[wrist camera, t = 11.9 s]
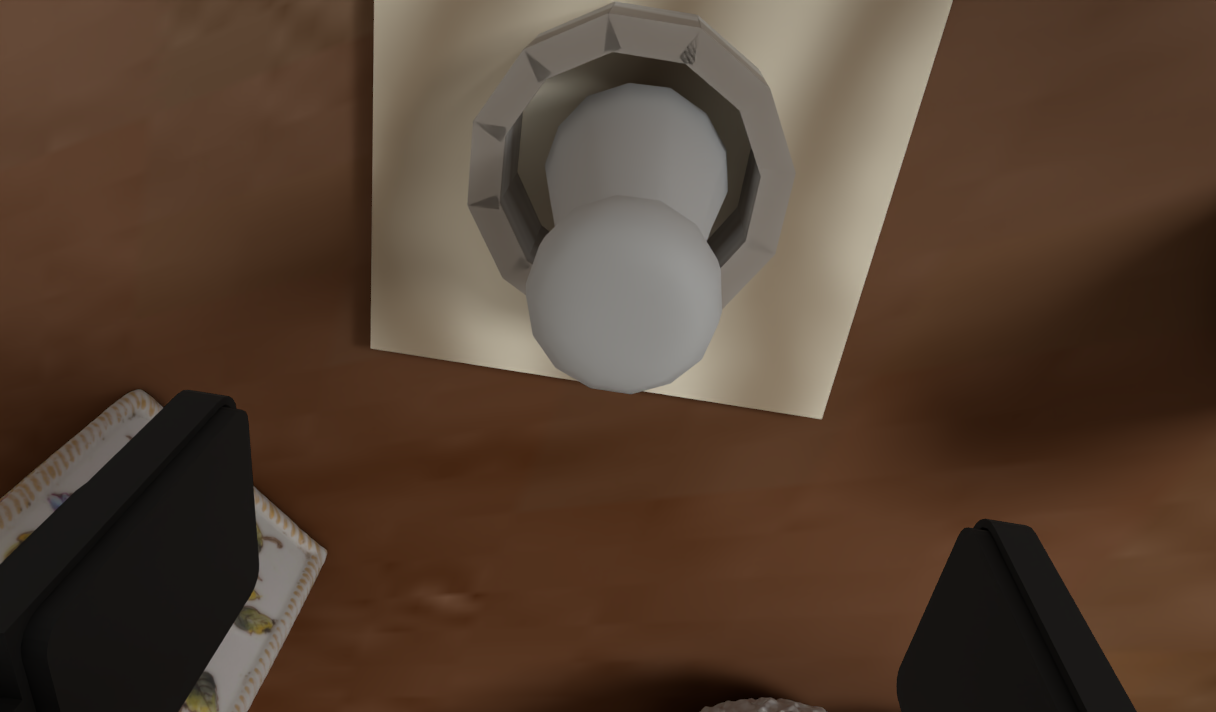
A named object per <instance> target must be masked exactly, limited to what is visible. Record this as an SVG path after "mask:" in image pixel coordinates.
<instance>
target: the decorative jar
mask: <svg viewBox="0 0 1216 712" xmlns="http://www.w3.org/2000/svg"><path fill="white" fill-rule="evenodd" d="M163 408H164V407H162V406H161V405H160V404H159V403H158V402H157V401H156V400H155V399H154V398H153V397H151V396H150V395H148V394H147V393H146V392H145V391H143V390H140V389H137V390H134V391H131V392H129V393H127V394H126V395H124V396H123V397H122V398H121V399H119V400H117V401H116V402H115V403H114V404H113V405H111V406H110V407H109V408H107V409H106V410H105V411H104V412H103V413H102V414H101V415H99V416H98V417H97V418H96V419H95V420H94V421H92V422H90V423H89V425H88V426H86V427H85V428H84V429H83V430H82V431H80V432H79V433H78V434H77V435H76V436H74V437H73V438H72V439H70V440H69V441H68V442H67V443H66V444H65V445H64V446H62V447H61V448H60V449H59V450H57V451H56V452H54V453H53V454H52V455H51V456H50V457H49V458H48V459H47V460H45V461H44V462H43V463H42V464H41V465H39V466H38V467H37V468H36V469H35V470H33V471H32V472H31V473H30V474H29V475H28V476H27V477H26V478H24V479H23V480H22V481H21V482H20V483H18V484H17V485H16V486H15V487H14V488H13V489H12V490H10V491H9V492H8V493H6V494H5V495H4V496H3V497H2V498H1V499H0V564H1V563H2V562H3V561H4V560H5V559H6V558H7V557H8V556H9V555H10V554H11V553H12V552H13V551H14V550H15V549H16V548H17V547H18V546H19V545H20V544H21V543H22V542H23V541H24V540H25V539H26V538H27V537H28V536H30V535H31V534H32V533H33V532H34V531H35V530H36V529H37V528H38V527H39V526H40V525H41V524H42V523H43V522H44V521H45V520H46V519H47V518H48V517H49V516H50V515H51V514H52V513H53V512H54V511H55V510H56V509H57V508H58V507H59V506H60V505H61V504H62V503H63V502H65V501H66V500H67V499H68V498H69V497H70V496H71V495H72V494H73V493H74V492H75V491H76V490H77V489H78V488H80V487H81V486H83V485H84V484H85V483H87V482H88V481H89V480H90V479H91V478H92V477H93V476H94V475H95V474H96V473H97V472H98V471H99V470H100V469H101V468H102V467H103V466H104V465H105V464H106V463H107V462H108V461H109V460H110V459H111V458H112V457H113V456H114V455H115V454H116V453H118V452H119V451H120V450H121V449H122V448H123V447H124V446H125V445H126V444H127V443H128V442H129V441H130V440H131V439H132V438H133V437H134V436H135V435H136V434H137V433H138V432H139V431H140V430H141V429H142V428H143V427H144V426H145V425H146V424H147V423H148V422H149V421H150V420H151V419H152V418H153V417H154V416H155V415H156V414H157V413H159V412H160V411H161V410H162V409H163ZM253 488H254V501H255V514H256V527H257V540H258V553H259V574H258V579H257V582H256V585H255V588H254V590H253V592H252V594H251V596H250V597H249V599H248V601H247V602H246V604H245V606H244V607H243V609H242V610H241V612H240V614H239V615H238V617H237V618H236V620H235V622H234V623H233V625H232V626H231V628H230V630H229V631H228V633H227V635H226V636H225V638H224V639H223V641H222V643H221V644H220V646H219V647H218V649H217V651H216V652H215V654H214V655H213V657H212V659H211V660H210V662H209V664H208V665H207V667H206V668H205V670H204V672H203V673H202V675H201V676H200V678H199V680H198V681H197V683H196V684H195V686H194V688H193V689H192V691H191V693H190V694H189V696H188V697H187V699H186V701H185V702H184V704H183V705H182V707H181V709H180V710H179V712H247V711H248V710H249V708H250V706H251V704H252V701H253V700H254V698H255V696H256V694H257V692H258V690H259V688H260V687H261V685H262V683H263V681H264V679H265V677H266V675H267V674H268V672H269V670H270V668H271V666H272V665H273V662H274V660H275V658H276V657H277V655H278V652H279V650H280V649H281V648H282V645H283V643H284V641H285V640H286V637H287V635H288V634H289V632H290V629H291V628H292V626H293V624H294V621H295V620H296V618H297V616H298V614H299V612H300V610H301V608H302V606H303V604H304V601H305V600H306V598H307V596H308V594H309V592H310V589H311V588H312V586H313V584H314V582H315V580H316V578H317V576H318V574H319V572H320V569H321V567H322V565H323V564H324V562H325V559H326V556H327V550H326V549H325V548H323V547H322V546H320V545H319V544H318V543H317V542H316V541H314V540H313V539H312V538H310V537H309V536H308V534H307V533H305V532H304V531H302V530H301V529H300V528H299V527H298V526H297V525H296V524H295V523H294V522H293V521H292V520H291V519H290V518H289V517H288V516H287V515H285V514H284V513H283V512H282V511H281V510H279V509H278V508H277V507H276V506H275V505H274V504H273V503H272V502H271V501H269V500H268V499H267V498H266V497H265V496H264V495H263V494H262V493H261V492H259V491H258V490H257V489H256V488H255V487H254V486H253Z"/></svg>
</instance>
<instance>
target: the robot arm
mask: <svg viewBox="0 0 1216 712" xmlns="http://www.w3.org/2000/svg"><path fill="white" fill-rule="evenodd" d="M258 574H259V553H258V540H257V527H256V514H255V501H254V488H253V475H252V462H251V449H250V436H249V423H248V416H247V414H246V412H245V411H243V410H240V409H236V404H235V402H234V400H233V399H232V398H231V397H229V396H223V395H217V394H211V393H205V392H199V391H193V390H183V391H181V392H180V393H178V394H177V395H176V396H175V397H174V398H173V399H172V400H171V401H170V402H169V403H168V404H167V405H166V406H165V407H164V408H163V409H162V410H161V411H160V412H159V413H157V414H156V415H155V416H154V417H153V418H152V419H151V420H150V421H149V422H148V423H147V424H146V425H145V426H144V427H143V428H142V429H141V430H140V431H139V432H138V433H137V434H136V435H135V436H134V437H133V438H132V439H131V440H130V441H129V442H128V443H127V444H126V445H125V446H124V447H123V448H122V449H121V450H120V451H119V452H118V453H116V454H115V455H114V456H113V457H112V458H111V459H110V460H109V461H108V462H107V463H106V464H105V465H104V466H103V467H102V468H101V469H100V470H99V471H98V472H97V473H96V474H95V475H94V476H93V477H92V478H91V479H90V480H89V481H88V482H87V483H85V484H84V485H83V486H81V487H80V488H78V489H77V490H76V491H75V492H74V493H73V494H72V495H71V496H70V497H69V498H68V499H67V500H66V501H65V502H63V503H62V504H61V505H60V506H59V507H58V508H57V509H56V510H55V511H54V512H53V513H52V514H51V515H50V516H49V517H48V518H47V519H46V520H45V521H44V522H43V523H42V524H41V525H40V526H39V527H38V528H37V529H36V530H35V531H34V532H33V533H32V534H31V535H30V536H28V537H27V538H26V539H25V540H24V541H23V542H22V543H21V544H20V545H19V546H18V547H17V548H16V549H15V550H14V551H13V552H12V553H11V554H10V555H9V556H8V557H7V558H6V559H5V560H4V561H3V562H2V563H1V564H0V712H179V710H180V709H181V707H182V705H183V704H184V702H185V701H186V699H187V697H188V696H189V694H190V693H191V691H192V689H193V688H194V686H195V684H196V683H197V681H198V680H199V678H200V676H201V675H202V673H203V672H204V670H205V668H206V667H207V665H208V664H209V662H210V660H211V659H212V657H213V655H214V654H215V652H216V651H217V649H218V647H219V646H220V644H221V643H222V641H223V639H224V638H225V636H226V635H227V633H228V631H229V630H230V628H231V626H232V625H233V623H234V622H235V620H236V618H237V617H238V615H239V614H240V612H241V610H242V609H243V607H244V606H245V604H246V602H247V601H248V599H249V597H250V596H251V594H252V592H253V590H254V588H255V585H256V582H257V579H258ZM897 696H898V701H899V704H900V708H901V712H1137V711H1136V710H1135V708H1134V706H1133V704H1132V703H1131V701H1130V699H1129V697H1128V695H1127V694H1126V692H1125V690H1124V688H1123V687H1122V685H1121V683H1120V681H1119V680H1118V678H1117V676H1116V674H1115V673H1114V671H1113V669H1112V667H1111V665H1110V664H1109V662H1108V660H1107V658H1106V657H1105V655H1104V653H1103V651H1102V650H1101V648H1100V646H1099V644H1098V642H1097V641H1096V639H1095V637H1094V635H1093V634H1092V632H1091V630H1090V628H1089V627H1088V625H1087V623H1086V621H1085V620H1084V618H1083V616H1082V614H1081V612H1080V611H1079V609H1078V607H1077V605H1076V604H1075V602H1074V600H1073V598H1072V597H1071V595H1070V593H1069V591H1068V590H1067V588H1066V586H1065V584H1064V582H1063V581H1062V579H1061V577H1060V575H1059V574H1058V572H1057V570H1056V568H1055V567H1054V565H1053V563H1052V561H1051V559H1050V558H1049V556H1048V554H1047V552H1046V551H1045V549H1044V547H1043V545H1042V544H1041V542H1040V540H1039V538H1038V537H1037V535H1036V533H1035V532H1034V531H1033V529H1032V528H1030V527H1028V526H1026V525H1020V524H1014V523H1008V522H1002V521H995V520H989V519H982V520H980V521H979V522H977V523H976V525H975V526H974V528H969V527H968V528H964V529H963V530H962V531H961V532H960V534H959V536H958V538H957V540H956V543H955V545H954V547H953V549H952V552H951V554H950V556H949V558H948V560H947V563H946V565H945V567H944V569H943V572H942V574H941V576H940V578H939V581H938V583H937V585H936V587H935V590H934V592H933V594H932V596H931V599H930V601H929V603H928V605H927V607H926V610H925V612H924V614H923V616H922V619H921V621H920V623H919V625H918V628H917V630H916V632H915V634H914V637H913V639H912V641H911V643H910V646H909V648H908V650H907V652H906V654H905V657H904V659H903V661H902V663H901V666H900V668H899V671H898V676H897Z"/></svg>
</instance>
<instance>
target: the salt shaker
mask: <svg viewBox="0 0 1216 712" xmlns="http://www.w3.org/2000/svg"><path fill="white" fill-rule="evenodd" d="M545 170H546V177H547V183H548V189H549V196H550V202H551V207H552V213H553V219H554V225H555V227H554V228H553V229H552V230H551V231H550V232H549V233H548V234H547V235H546V236H545V237H544V239H543V240H542V242H541V244H540V245H539V248H538V251H537V253H536V256H535V259H534V262H533V265H532V267H531V270H530V273H529V276H528V279H527V281H526V299H527V304H528V310H529V316H530V322H531V328H532V334H533V336H534V338H535V339H536V341H537V342H538V344H539V345H540V346H541V348H542V349H543V351H544V352H545V354H546V355H547V357H548V358H549V359H550V361H551V362H552V364H553V365H554V367H555V368H556V369H558V370H560V371H562V372H563V373H565V374H567V375H569V376H570V377H572V378H574V379H576V380H577V381H579V382H581V383H583V384H584V385H586V386H588V387H590V388H593V389H600V390H607V391H613V392H620V393H627V394H634V393H637V392H641V391H645V390H649V389H652V388H656V387H660V386H663V385H667V384H671V383H672V382H673V381H674V380H676V379H677V378H678V377H680V376H681V375H682V374H684V373H685V372H686V371H687V370H689V369H690V368H691V367H693V366H694V365H695V364H697V363H698V362H699V361H700V360H702V358H703V356H704V354H705V352H706V350H707V347H708V345H709V343H710V341H711V339H712V337H713V335H714V332H715V330H716V328H717V326H718V324H719V320H720V317H721V313H722V294H721V269H720V266H719V262H718V260H717V258H716V256H715V255H714V253H713V251H712V250H711V248H710V246H709V245H708V243H707V239H708V237H709V234H710V231H711V228H712V226H713V224H714V222H715V219H716V217H717V215H718V212H719V210H720V208H721V206H722V203H723V201H724V199H725V197H726V194H727V192H728V175H727V149H726V148H725V146H724V144H723V142H722V140H721V139H720V137H719V135H718V133H717V131H716V130H715V128H714V126H713V124H712V122H711V121H710V119H709V117H708V115H707V113H705V112H704V111H702V110H701V109H700V108H698V107H697V106H695V105H694V104H693V103H691V102H690V101H688V100H687V99H686V98H684V97H683V96H681V95H680V94H678V93H677V92H676V91H674V90H673V89H671V88H668V87H659V86H651V85H643V84H635V83H627V84H624V85H621V86H618V87H615V88H611V89H608V90H605V91H602V92H599V93H595V94H592V95H589V96H587V97H586V98H585V99H584V100H583V101H582V102H581V103H580V104H579V105H578V106H577V107H576V109H575V110H574V111H573V112H572V113H571V114H570V115H569V116H568V117H567V118H566V119H565V120H564V121H563V122H562V123H561V124H560V125H559V126H558V129H557V132H556V135H555V138H554V140H553V143H552V146H551V149H550V152H549V154H548V157H547V160H546V163H545Z"/></svg>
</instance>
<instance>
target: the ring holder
mask: <svg viewBox="0 0 1216 712" xmlns="http://www.w3.org/2000/svg"><path fill="white" fill-rule="evenodd" d="M952 2H953V0H374V62H373V159H372V257H371V349H378V350H384V351H390V352H397V353H403V354H409V355H416V356H422V357H429V358H435V359H441V360H448V361H454V362H460V363H467V364H473V365H479V366H486V367H492V368H499V369H505V370H511V371H518V372H524V373H530V374H537V375H543V376H550V377H556V378H562V379H569V380H575V381H577V380H576V379H574V378H572V377H570V376H569V375H567V374H565V373H563V372H562V371H560V370H558V369H556V368H555V367H554V365H553V364H552V362H551V361H550V359H549V358H548V357H547V355H546V354H545V352H544V351H543V349H542V348H541V346H540V345H539V344H538V342H537V341H536V339H535V338H534V336H533V334H532V328H531V322H530V316H529V310H528V304H527V299H526V281H527V279H528V276H529V273H530V270H531V267H532V265H533V262H534V259H535V256H536V253H537V251H538V248H539V245H540V244H541V242H542V240H543V239H544V237H545V236H546V235H547V234H548V233H549V232H550V231H551V230H552V229H553V228H554V227H555V225H554V219H553V213H552V207H551V202H550V196H549V189H548V183H547V177H546V170H545V163H546V160H547V157H548V154H549V152H550V149H551V146H552V143H553V140H554V138H555V135H556V132H557V129H558V126H559V125H560V124H561V123H562V122H563V121H564V120H565V119H566V118H567V117H568V116H569V115H570V114H571V113H572V112H573V111H574V110H575V109H576V107H577V106H578V105H579V104H580V103H581V102H582V101H583V100H584V99H585V98H586V97H587V96H589V95H592V94H595V93H599V92H602V91H605V90H608V89H611V88H615V87H618V86H621V85H624V84H627V83H635V84H643V85H651V86H659V87H668V88H671V89H673V90H674V91H676V92H677V93H678V94H680V95H681V96H683V97H684V98H686V99H687V100H688V101H690V102H691V103H693V104H694V105H695V106H697V107H698V108H700V109H701V110H702V111H704V112H705V113H707V115H708V117H709V119H710V121H711V122H712V124H713V126H714V128H715V130H716V131H717V133H718V135H719V137H720V139H721V140H722V142H723V144H724V146H725V148H726V149H727V175H728V192H727V194H726V197H725V199H724V201H723V203H722V206H721V208H720V210H719V212H718V215H717V217H716V219H715V222H714V224H713V226H712V228H711V231H710V234H709V237H708V239H707V243H708V245H709V246H710V248H711V250H712V251H713V253H714V255H715V256H716V258H717V260H718V262H719V266H720V269H721V294H722V313H721V317H720V320H719V324H718V326H717V328H716V330H715V332H714V335H713V337H712V339H711V341H710V343H709V345H708V347H707V350H706V352H705V354H704V356H703V358H702V360H700V361H699V362H698V363H697V364H695V365H694V366H693V367H691V368H690V369H689V370H687V371H686V372H685V373H684V374H682V375H681V376H680V377H678V378H677V379H676V380H674V381H673V382H672V383H671V384H667V385H663V386H660V387H656V388H652V389H649V390H645V392H651V393H658V394H664V395H671V396H677V397H683V398H690V399H696V400H702V401H709V402H715V403H721V404H728V405H734V406H741V407H747V408H753V409H760V410H766V411H772V412H779V413H785V414H792V415H798V416H804V417H811V418H817V419H822V417H823V413H824V410H825V407H826V404H827V401H828V397H829V394H830V391H831V388H832V385H833V381H834V378H835V375H836V372H837V369H838V365H839V362H840V359H841V356H842V353H843V350H844V346H845V343H846V340H847V337H848V334H849V330H850V327H851V324H852V321H853V318H854V314H855V311H856V308H857V305H858V302H859V298H860V295H861V292H862V289H863V286H864V283H865V279H866V276H867V273H868V270H869V267H870V263H871V260H872V257H873V254H874V251H875V247H876V244H877V241H878V238H879V235H880V231H881V228H882V225H883V222H884V219H885V216H886V212H887V209H888V206H889V203H890V200H891V196H892V193H893V190H894V187H895V184H896V180H897V177H898V174H899V171H900V168H901V164H902V161H903V158H904V155H905V152H906V149H907V145H908V142H909V139H910V136H911V133H912V129H913V126H914V123H915V120H916V117H917V113H918V110H919V107H920V104H921V101H922V97H923V94H924V91H925V88H926V85H927V82H928V78H929V75H930V72H931V69H932V66H933V62H934V59H935V56H936V53H937V50H938V46H939V43H940V40H941V37H942V34H943V30H944V27H945V24H946V21H947V18H948V15H949V11H950V8H951V5H952Z"/></svg>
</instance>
